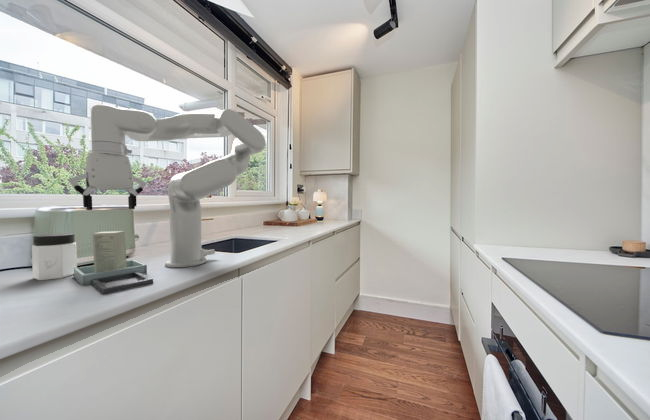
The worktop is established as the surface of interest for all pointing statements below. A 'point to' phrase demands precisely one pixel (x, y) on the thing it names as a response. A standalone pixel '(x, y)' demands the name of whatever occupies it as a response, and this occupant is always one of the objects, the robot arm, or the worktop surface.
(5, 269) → the worktop surface
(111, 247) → the skincare box
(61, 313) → the worktop surface
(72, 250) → the jar
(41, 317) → the worktop surface
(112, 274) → the tray
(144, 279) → the dark grey rectangular frame
